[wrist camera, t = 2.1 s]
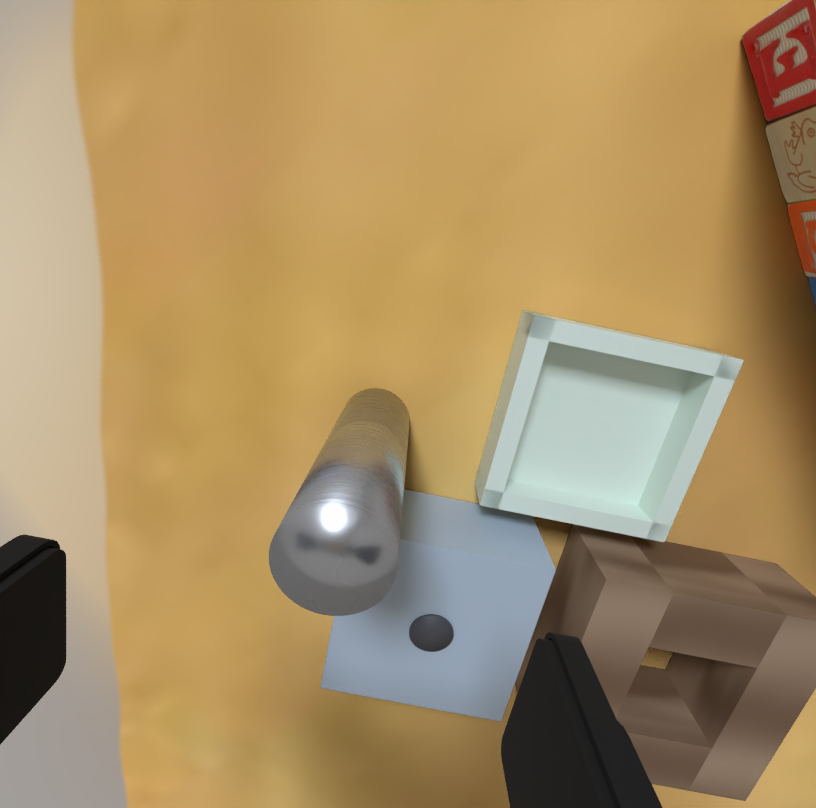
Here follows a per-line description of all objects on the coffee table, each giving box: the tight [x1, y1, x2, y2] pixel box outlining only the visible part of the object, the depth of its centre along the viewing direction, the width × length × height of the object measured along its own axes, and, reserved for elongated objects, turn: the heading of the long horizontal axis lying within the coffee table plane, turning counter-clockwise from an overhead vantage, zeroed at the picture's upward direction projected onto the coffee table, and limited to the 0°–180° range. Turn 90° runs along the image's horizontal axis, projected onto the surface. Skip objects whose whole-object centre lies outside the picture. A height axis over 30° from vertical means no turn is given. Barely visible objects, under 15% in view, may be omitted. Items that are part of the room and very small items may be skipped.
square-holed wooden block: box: [515, 524, 816, 801], centre depth 21 cm, size 10×10×4 cm
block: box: [320, 489, 556, 721], centre depth 20 cm, size 8×8×4 cm
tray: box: [475, 310, 744, 542], centre depth 19 cm, size 8×8×2 cm
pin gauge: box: [269, 389, 410, 616], centre depth 15 cm, size 3×3×10 cm
